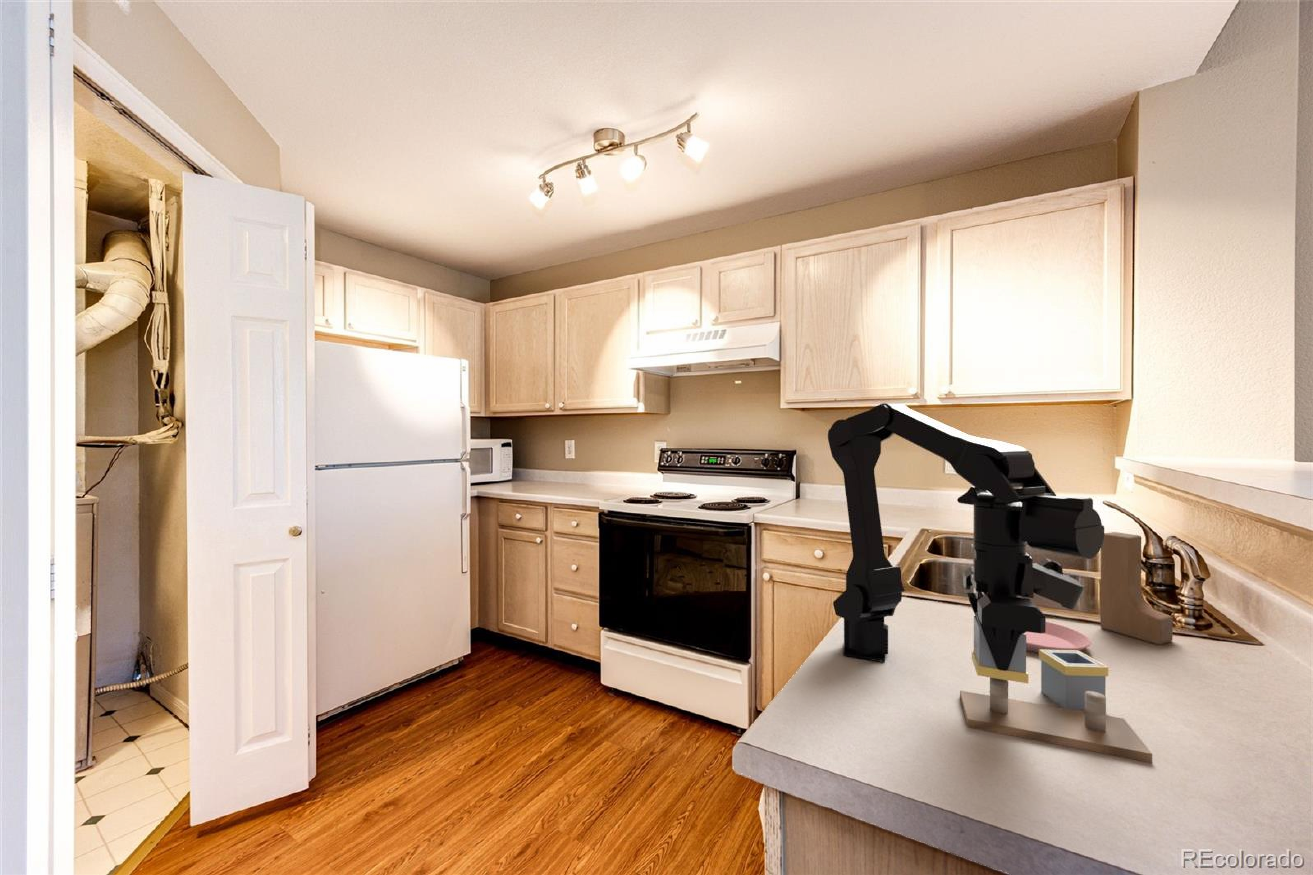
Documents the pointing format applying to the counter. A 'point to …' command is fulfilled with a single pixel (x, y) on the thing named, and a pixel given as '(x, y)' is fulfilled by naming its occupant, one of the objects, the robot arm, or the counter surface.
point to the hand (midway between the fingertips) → (998, 661)
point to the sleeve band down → (986, 662)
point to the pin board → (1053, 722)
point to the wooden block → (1128, 592)
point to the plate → (1056, 639)
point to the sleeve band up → (1070, 677)
